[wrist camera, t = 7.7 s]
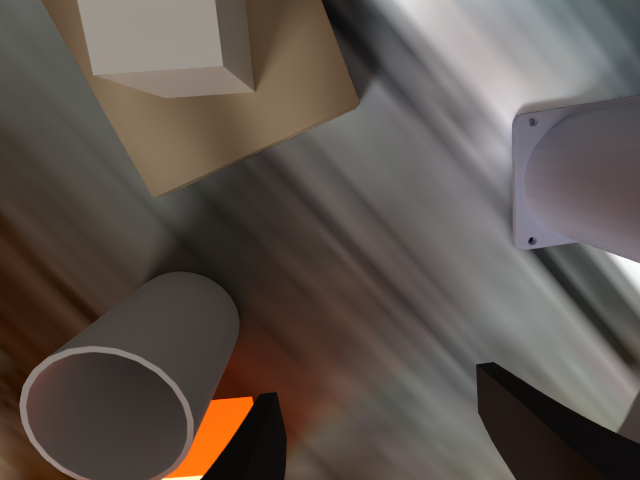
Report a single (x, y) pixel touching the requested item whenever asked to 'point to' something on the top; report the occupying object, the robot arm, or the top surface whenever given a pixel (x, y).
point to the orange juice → (212, 437)
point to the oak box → (226, 96)
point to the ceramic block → (170, 45)
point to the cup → (133, 382)
